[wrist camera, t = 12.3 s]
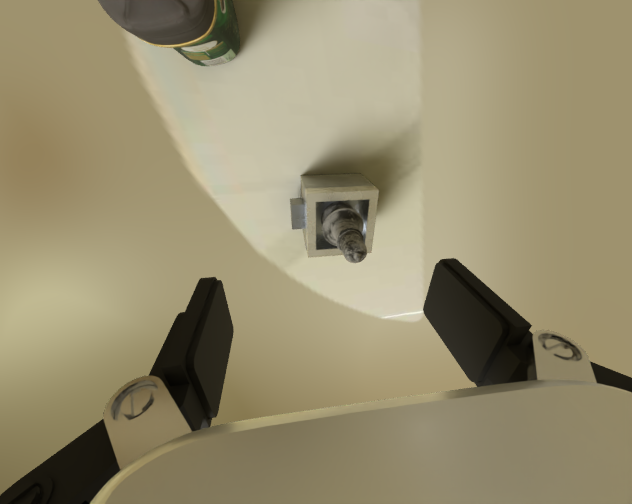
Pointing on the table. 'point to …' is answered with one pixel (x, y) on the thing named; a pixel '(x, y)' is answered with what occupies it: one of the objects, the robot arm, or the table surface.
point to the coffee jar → (182, 26)
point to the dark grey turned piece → (344, 230)
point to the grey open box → (323, 193)
